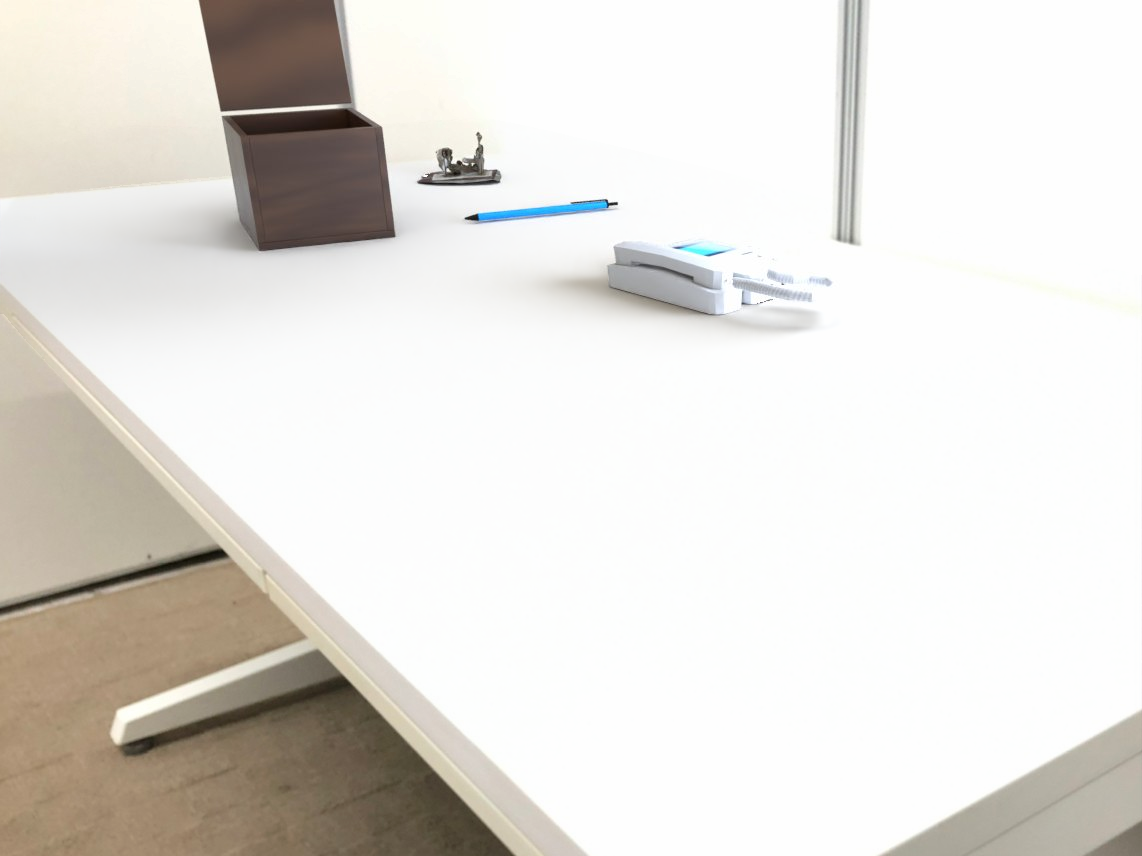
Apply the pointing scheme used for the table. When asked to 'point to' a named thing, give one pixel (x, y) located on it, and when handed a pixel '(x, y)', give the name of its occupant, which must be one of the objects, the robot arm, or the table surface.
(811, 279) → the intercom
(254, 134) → the box
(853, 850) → the table surface
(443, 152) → the pewter figure scene
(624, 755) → the table surface
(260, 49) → the box lid
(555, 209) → the pen
